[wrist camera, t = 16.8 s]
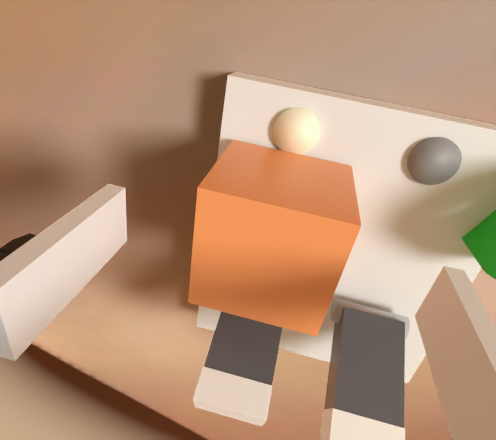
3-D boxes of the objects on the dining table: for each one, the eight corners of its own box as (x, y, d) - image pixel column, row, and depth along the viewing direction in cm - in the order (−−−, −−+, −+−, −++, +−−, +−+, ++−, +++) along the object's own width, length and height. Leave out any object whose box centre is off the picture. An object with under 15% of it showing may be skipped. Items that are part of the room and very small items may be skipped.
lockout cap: (233, 139, 18) (197, 187, 13) (351, 165, 18) (361, 225, 13) (220, 235, 22) (187, 302, 17) (319, 260, 21) (316, 336, 16)
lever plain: (339, 293, 21) (321, 442, 17) (412, 312, 20) (412, 468, 17) (330, 303, 23) (312, 440, 19) (397, 321, 22) (394, 463, 18)
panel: (225, 69, 19) (214, 73, 17) (537, 133, 18) (564, 145, 16) (197, 306, 28) (187, 326, 26) (402, 360, 26) (408, 387, 24)
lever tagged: (228, 264, 22) (185, 397, 17) (297, 281, 21) (273, 422, 16) (227, 279, 23) (188, 405, 18) (291, 296, 23) (268, 428, 18)
